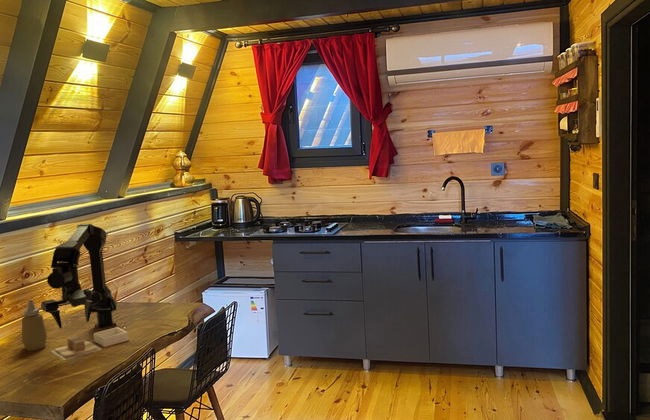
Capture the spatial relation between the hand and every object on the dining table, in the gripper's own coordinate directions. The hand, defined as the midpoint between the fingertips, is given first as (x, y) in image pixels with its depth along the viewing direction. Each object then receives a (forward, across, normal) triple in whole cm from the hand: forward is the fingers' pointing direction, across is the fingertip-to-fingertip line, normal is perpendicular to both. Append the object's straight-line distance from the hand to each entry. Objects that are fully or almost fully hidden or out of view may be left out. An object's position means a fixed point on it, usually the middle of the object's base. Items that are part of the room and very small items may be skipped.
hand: (74, 324), depth 202 cm
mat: (+10, 0, 0) cm, 10 cm away
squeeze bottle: (+10, -9, +15) cm, 20 cm away
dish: (+10, +12, 0) cm, 16 cm away
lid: (+9, 0, 0) cm, 9 cm away
